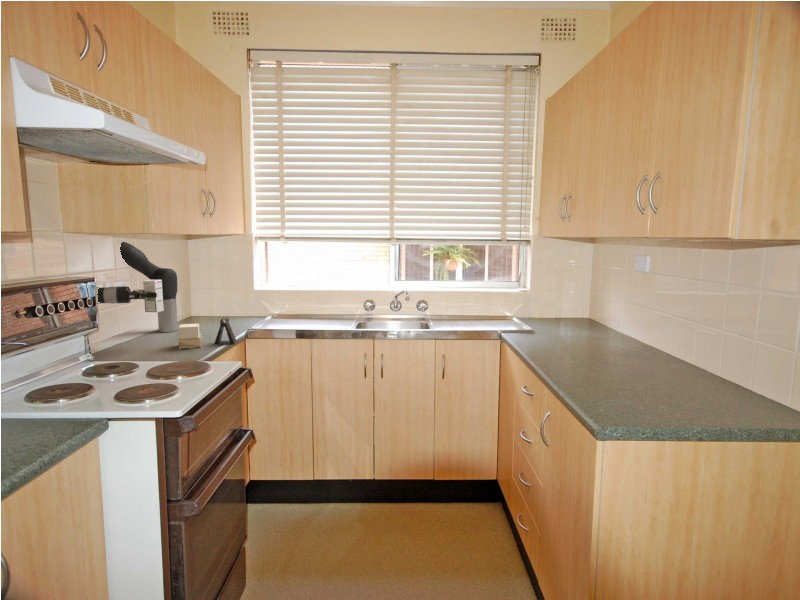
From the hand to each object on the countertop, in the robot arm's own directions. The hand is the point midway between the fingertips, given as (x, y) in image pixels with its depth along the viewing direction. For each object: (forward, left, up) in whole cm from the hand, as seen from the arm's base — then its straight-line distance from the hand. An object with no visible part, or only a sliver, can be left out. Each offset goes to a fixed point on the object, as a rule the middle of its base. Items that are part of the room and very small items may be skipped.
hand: (158, 293), depth 218 cm
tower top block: (+5, +13, -19) cm, 24 cm away
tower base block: (+5, +13, -24) cm, 28 cm away
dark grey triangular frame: (+2, +28, -24) cm, 37 cm away
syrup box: (0, -2, -8) cm, 8 cm away
